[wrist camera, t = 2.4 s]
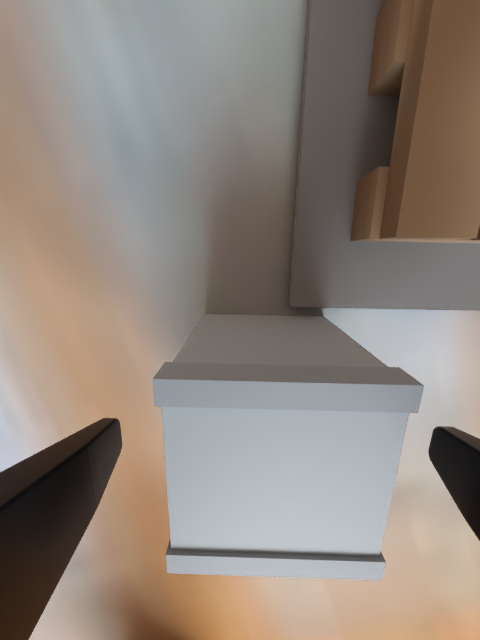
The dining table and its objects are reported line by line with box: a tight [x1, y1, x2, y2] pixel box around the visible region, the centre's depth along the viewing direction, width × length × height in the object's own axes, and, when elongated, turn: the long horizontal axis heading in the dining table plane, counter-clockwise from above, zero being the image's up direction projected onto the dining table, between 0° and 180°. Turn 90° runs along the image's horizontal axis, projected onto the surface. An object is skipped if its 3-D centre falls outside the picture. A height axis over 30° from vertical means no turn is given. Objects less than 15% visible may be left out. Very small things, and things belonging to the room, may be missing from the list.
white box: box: [153, 314, 424, 581], centre depth 9 cm, size 5×5×6 cm
